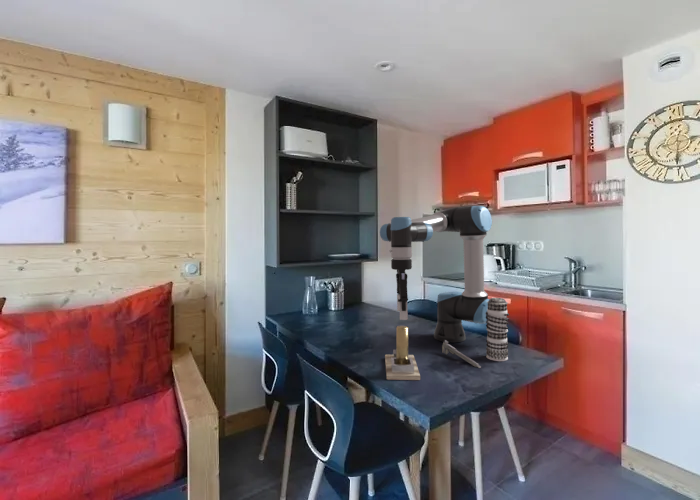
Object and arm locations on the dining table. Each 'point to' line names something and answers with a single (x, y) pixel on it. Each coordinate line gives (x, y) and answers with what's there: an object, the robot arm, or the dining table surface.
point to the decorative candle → (497, 329)
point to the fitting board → (401, 368)
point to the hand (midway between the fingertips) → (402, 315)
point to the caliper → (457, 353)
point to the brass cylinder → (402, 345)
